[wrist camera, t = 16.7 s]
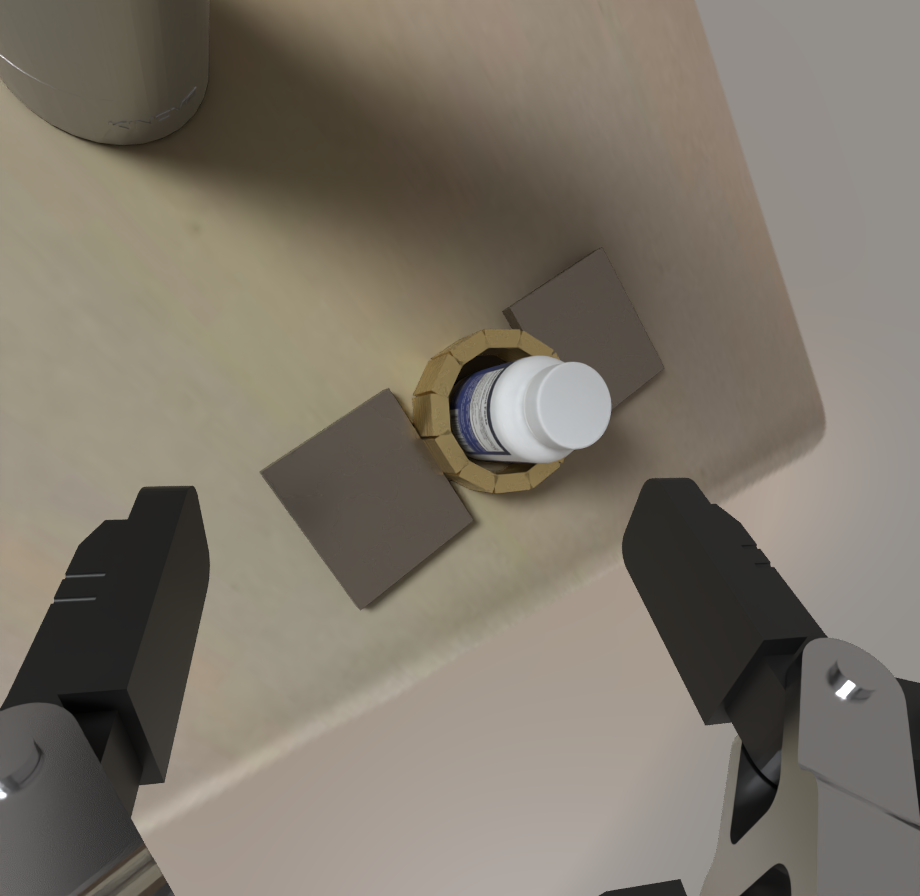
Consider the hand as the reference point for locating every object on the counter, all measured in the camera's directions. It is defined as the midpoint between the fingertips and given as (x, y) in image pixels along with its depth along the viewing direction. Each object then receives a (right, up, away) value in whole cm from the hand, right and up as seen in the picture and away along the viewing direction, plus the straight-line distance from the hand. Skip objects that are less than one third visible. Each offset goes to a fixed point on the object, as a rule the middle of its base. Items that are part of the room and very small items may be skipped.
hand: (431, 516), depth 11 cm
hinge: (+2, +3, +25) cm, 25 cm away
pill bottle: (+2, +3, +25) cm, 25 cm away
